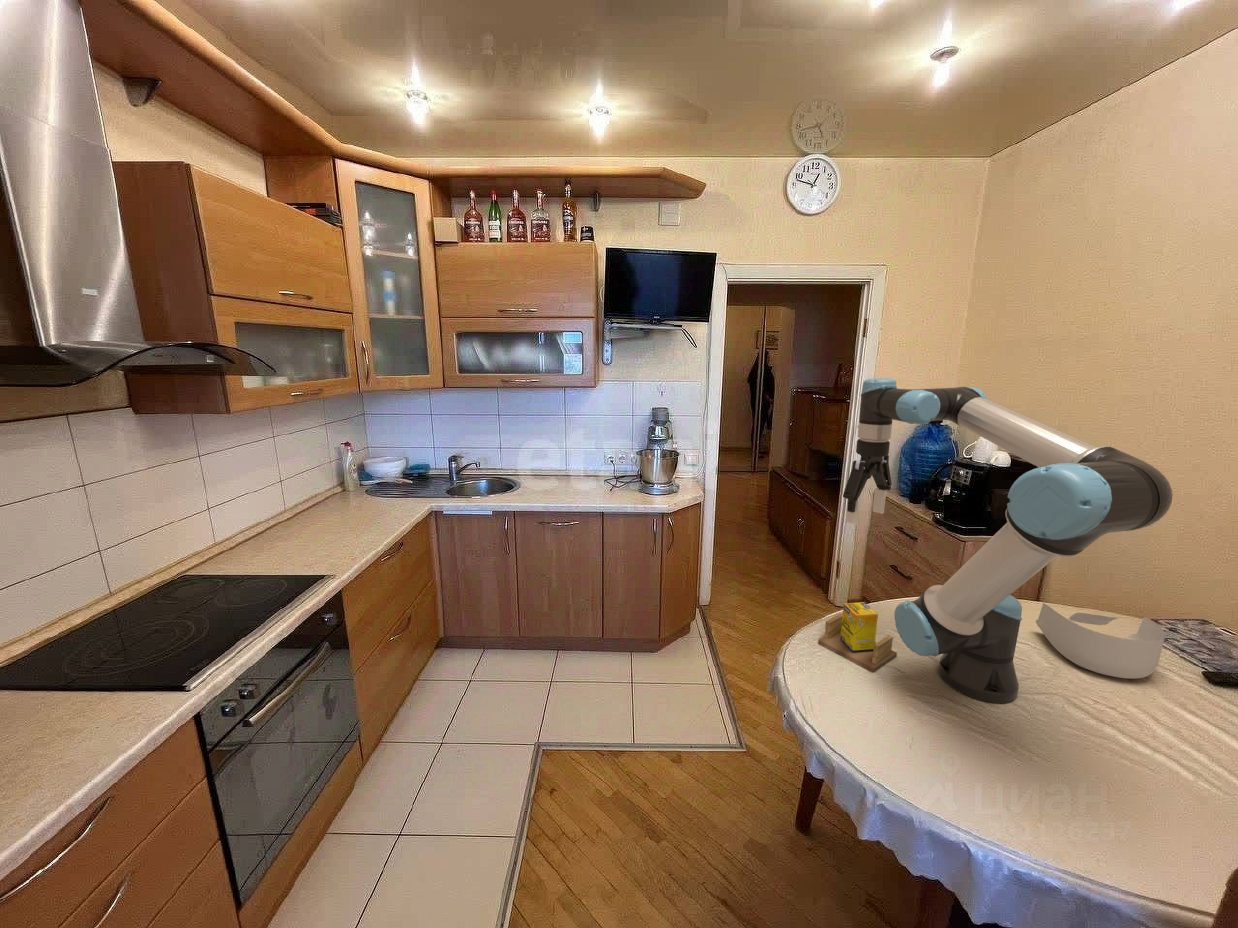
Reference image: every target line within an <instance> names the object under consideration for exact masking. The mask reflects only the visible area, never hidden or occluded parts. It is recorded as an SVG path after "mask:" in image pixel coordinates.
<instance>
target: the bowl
mask: <svg viewBox="0 0 1238 928" xmlns="http://www.w3.org/2000/svg"><path fill="white" fill-rule="evenodd" d="M1116 619H1118V617H1114V616H1109V615H1108V616H1105V615H1099V614H1093V613H1091V614H1090V613H1085V612H1075V613H1074V614H1071V615H1070V616H1069V618H1067V617H1065V616H1063V615H1062V614H1061V613H1059V612H1057V611H1056V610H1055V609H1053V608H1052V607H1051V606H1049V605H1047V604H1046V603H1045V602H1043V603H1042V606H1041V609H1040V611H1039V615H1038V618H1037V619H1036V620H1035V623H1036V625H1037V626H1038V628H1039V629H1040V631H1041V632H1042V633H1043V635H1044V637H1046V639H1047V640H1048V641H1049V643H1050V644H1051V645H1052V647H1054V649H1055V650H1057V651H1058V652H1059V653H1060V654H1061V655H1062V656H1063V657H1064V658H1066V659H1067V660H1069V661H1070V662H1072V663H1074V664H1075V665H1077V666H1079V667H1081V668H1083V669H1087V670H1089V671H1092V672H1094V673H1098V674H1101V675H1104V676H1110V677H1113V678H1121V679H1132V680H1135V679H1143V678H1146V677H1148V676H1150V675H1152V673H1153V672H1154V671H1155V670H1156V669H1157V667H1158V664H1159V661H1160V658H1161V654H1162V650H1163V647H1164V643H1165V638H1166V633H1165V631H1164V629H1163V628H1162V627H1161V626H1160V625H1159V624H1158V623H1157V622H1155V621H1153V620H1151V619H1149V618H1148V617H1146V616H1144V617H1143V618H1142V620H1141V623H1140V624H1139V628H1138V630H1137V632H1136V633H1133V634H1131V635H1128V636H1127V637H1124V638H1123V637H1117V636H1114V635H1110V634H1105V633H1102V632H1099V631H1096V630H1093V629H1089V628H1087V627H1084V626H1082V625H1079V623H1081V624H1087V625H1097V626H1106V625H1108V624H1110V623H1111V622H1112V621H1114V620H1116Z"/></svg>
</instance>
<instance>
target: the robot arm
mask: <svg viewBox="0 0 1238 928" xmlns="http://www.w3.org/2000/svg"><path fill="white" fill-rule="evenodd" d="M893 421H897V422H904V423H907V424H910V425H913V424H914V425H915V424H917V425H925V424H928V423H930V422H935V421H948V422H949V421H950V422H952V423H953V424H955V425H957V426H959V427H962V428H964V429H966V430H967V431H969V432H972V433H974V434H975V435H977V436H978V437H980V438H983V439H984V440H986V441H989V442H991V443H992V444H994V445H996V446H998V447H999V448H1001V449H1003V450H1005V451H1007V452H1009V453H1011V454H1012V455H1014V456H1017V457H1018V458H1020V459H1023V460H1024V461H1026V462H1028V463H1029V464H1032V465H1033V466H1036V468H1033V469H1031V470H1030V469H1029V471H1026V472H1024V473H1023V474H1022V475H1020V476H1019V477H1018V478H1017V479H1016V480H1015V481H1014V482H1013V484H1012V485H1011V487H1010V488H1009V491H1008V494H1007V498H1008V499H1009V502H1008V503H1006V506H1007V508H1006V510H1005V519H1006V523H1005V524H1004V525H1003V526H1002V527H1001V528H1000V529H999V530H998V531H997V532H996V533H995V534H994V535H993V536H992V537H991V538H990V539H988V541H987V542H986V543H985V544H983V546H982V547H980V549H978V551H977V552H975V554H973V556H971V558H969V559H968V560H967V561H966V562H965V563H964V564H963V565H962V566H961V567H959V569H958V570H957V571H956V572H955V573H954V574H953V575H952V576H951V577H950V578H949V579H948V580H947V581H945V583H944V584H934V585H932V586H929V588H927V589H926V590H925V591H924V592H923V593H922V594H921V595H920V596H919V597H918V598H917V599H915V600H905V601H903V602H900V603H899V604H897V606H896V608H895V609H894V618H893V619H894V624H895V627H896V631H897V633H898V635H899V637H900V639H901V640H902V642H903V643H904V644H905V646H906V647H907V649H909V650H910V652H913V653H915V654H916V655H918V656H921V657H937V656H939V655H941V657H940V659H938V660H939V661H938V666H937V672H938V673H937V674H938V675H939V677H940V678H941V679H942V681H944V683H945V684H946V685H948V686H949V687H951V688H952V689H954V690H955V691H957V692H959V693H961V694H962V695H965V696H966V697H969V698H972V699H975V700H978V701H982V702H987V703H993V704H1005V703H1006V704H1007V703H1011V702H1013V701H1015V700H1016V699H1017V697H1018V694H1019V688H1020V687H1019V686H1020V685H1019V681H1018V676H1017V673H1016V669H1015V665H1014V659H1015V658H1014V657H1015V652H1016V647H1017V642H1018V636H1019V631H1020V626H1021V621H1023V619H1022V613H1023V611H1022V610H1023V607H1022V605H1021V604H1022V603H1020V601H1019V600H1018V599H1017V598H1016V597H1015V596H1013V595H1012V594H1013V593H1014V592H1015V591H1016V590H1018V589H1019V588H1020V587H1021V586H1023V585H1024V584H1025V583H1026V582H1027V581H1029V580H1030V579H1031V578H1032V577H1034V576H1035V575H1036V574H1038V573H1039V572H1040V571H1041V570H1043V568H1045V567H1046V566H1047V565H1049V564H1050V563H1051V562H1053V560H1055V559H1056V558H1057V557H1066V558H1067V557H1074V556H1077V555H1079V554H1081V553H1082V552H1083V551H1084V550H1085V549H1087V548H1088V547H1089V546H1091V544H1093V543H1094V542H1095V541H1097V540H1098V539H1099V538H1101V537H1102V536H1104V535H1107V534H1110V533H1118V532H1128V531H1135V530H1141V529H1143V528H1146V527H1149V526H1152V525H1154V524H1155V523H1157V522H1158V521H1160V520H1161V519H1162V518H1163V517H1165V515H1166V514H1167V513H1168V511H1169V510H1170V508H1171V506H1172V503H1173V496H1174V495H1173V489H1172V487H1171V485H1170V481H1168V479H1167V477H1166V476H1165V475H1164V474H1163V473H1162V472H1161V471H1160V470H1159V469H1157V468H1156V467H1154V466H1153V465H1151V464H1149V463H1148V462H1146V461H1144V460H1142V459H1140V458H1138V457H1135V456H1133V455H1131V454H1129V453H1126V452H1123V451H1121V450H1119V449H1116V448H1114V447H1112V446H1108V445H1103V446H1099V447H1096V446H1094V445H1092V444H1089V443H1087V442H1085V441H1082V440H1080V439H1078V438H1076V437H1074V436H1071V435H1069V434H1067V433H1064V432H1062V431H1059V430H1057V429H1055V428H1053V427H1050V426H1049V425H1046V424H1043V423H1042V422H1040V421H1037V420H1035V419H1032V418H1030V417H1028V416H1025V415H1023V414H1021V413H1019V412H1016V411H1014V410H1011V409H1009V408H1008V407H1005V406H1003V405H1000V404H998V403H995V402H994V401H991V400H989V399H988V397H987V395H985V393H984V391H983V390H981V389H979V388H978V387H971V386H969V387H968V386H958V387H940V388H939V387H937V388H916V389H915V388H914V389H913V388H912V389H910V388H908V389H907V388H898V387H897V380H895V379H894V378H882V377H881V378H879V377H877V378H867V379H865V380H864V381H863V382H862V387H861V392H860V405H859V417H858V425H857V437H858V439H857V440H856V447H855V448H856V449H855V453H856V454H857V455H860V459H859V460H853V461H852V466H851V471H850V473H849V476H848V480H847V482H846V485H845V488H844V490H843V494H842V497H843V498H844V499H847V507H846V508H847V509H846V519H845V522H846V523H848V524H851V525H854V526H858V523H859V522H858V521H859V513H860V506H861V505H860V503H861V500H860V499H859V498H860V496H861V494H862V492H863V490H864V488H865V485H866V483H867V481H868V480H870V479H871V478H873V481H874V483H875V485H876V487H875V488H874V495H873V503H872V512H873V513H877V514H881V515H883V514H885V506H886V496H887V491H891V489H892V476H891V470H890V464H889V461H890V456H889V454H890V444H891V442H890V441H889V440H890V439H891V438H892V429H893Z"/></svg>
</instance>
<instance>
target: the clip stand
mask: <svg viewBox="0 0 1238 928" xmlns="http://www.w3.org/2000/svg"><path fill="white" fill-rule="evenodd" d="M842 617H843V613H839V614H837V615H835V616H833V617H832V618H829V619H828V620H826V621H825V626H824V627H825V628H824V629H825V631H824V636H822V637H821V638H819V639H818V641H817V644H818V645H820V646H822V647H824V648H825V649H827V650H830V651H831V652H834V653H835V654H837V655H839V656H841V657H842V658H845V659H846V660H848V661H849V662H852V663H854V664H856V665H857V666H859V667H861V668H863V669H865V670H866V671H869V672H871V673H872V674H874V673H875V672H877V671H879V670H880V669H881V668H883V667H884V666H885V665H887V664H889V663H890V662H891V661H894V659H895V658H897V656H898V654H897V652H896V651H894V650H892V648H893V640H894V636H892V635H890V634H888V635H887V636H885V637H884V638H882V639H881V640H878V641H877V642H876V641H875V644H874V650H873V651H871V652H860V653H852V652H851V650H850V649H849V648H848V647H847V646H846V645H845V644H844V643H843V642H842V641H841V640H840V638H841V627H842Z"/></svg>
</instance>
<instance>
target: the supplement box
mask: <svg viewBox="0 0 1238 928" xmlns="http://www.w3.org/2000/svg"><path fill="white" fill-rule="evenodd" d="M842 614H843V617H842V627H841V638H840V640H841V641H842V642H843V643H844V644H845V645H846V646H847V647H848V648H849V649H850V650H851V652H852V653H860V652H871V651H873V650H874V644H875V642H876V635H877V627H878V626H877V625H878V619H879V617H878V616H879V614H878V613H877V612H876V611H874V609H872V608H871V607H870V606H869V605H868V604H867V603H866V602H864V601H861V602H849V603H848V602H847V603H846V602H845V603H843V607H842Z"/></svg>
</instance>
